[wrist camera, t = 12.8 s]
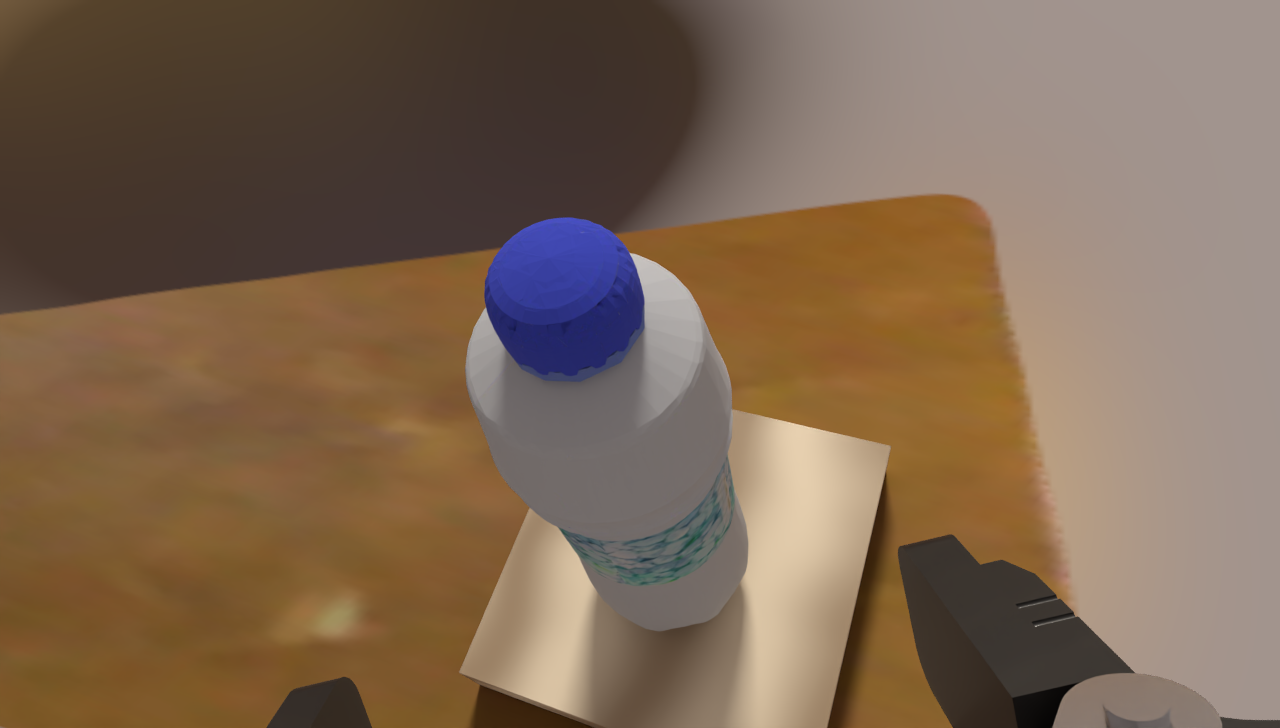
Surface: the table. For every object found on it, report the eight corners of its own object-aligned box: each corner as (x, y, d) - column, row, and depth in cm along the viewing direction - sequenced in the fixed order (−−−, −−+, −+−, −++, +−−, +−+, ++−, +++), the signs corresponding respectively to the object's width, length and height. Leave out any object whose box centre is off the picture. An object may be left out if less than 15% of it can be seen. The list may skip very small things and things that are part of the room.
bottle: (769, 499, 35) (736, 147, 18) (740, 664, 32) (667, 424, 15) (615, 474, 37) (453, 132, 20) (573, 628, 33) (337, 377, 17)
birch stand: (479, 684, 35) (458, 672, 33) (597, 400, 42) (586, 375, 39) (809, 807, 31) (809, 802, 29) (886, 470, 37) (891, 446, 35)
